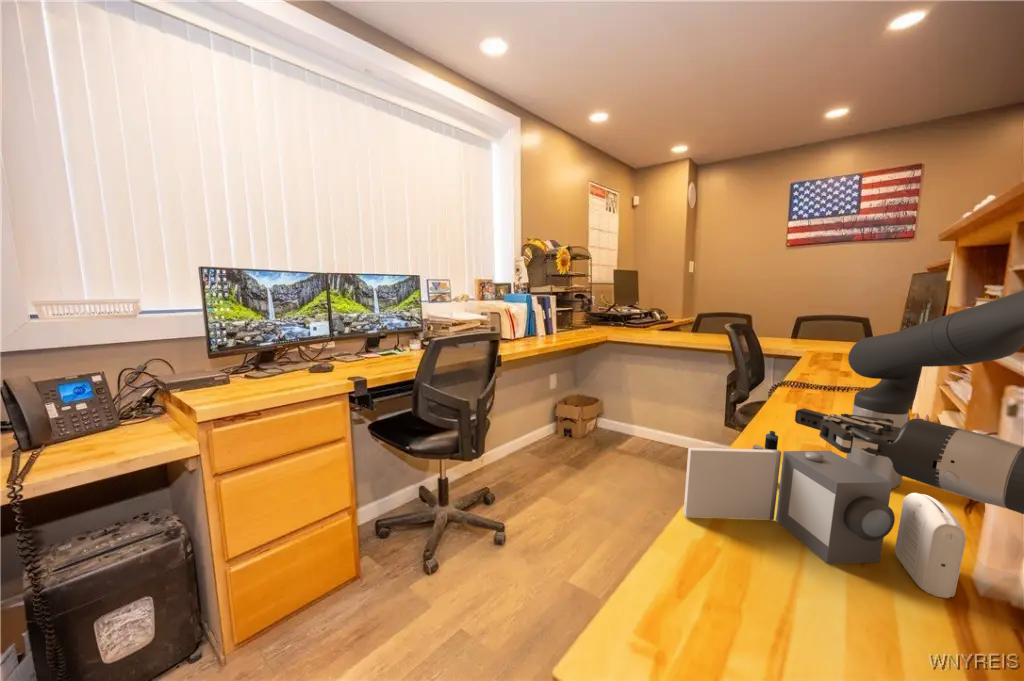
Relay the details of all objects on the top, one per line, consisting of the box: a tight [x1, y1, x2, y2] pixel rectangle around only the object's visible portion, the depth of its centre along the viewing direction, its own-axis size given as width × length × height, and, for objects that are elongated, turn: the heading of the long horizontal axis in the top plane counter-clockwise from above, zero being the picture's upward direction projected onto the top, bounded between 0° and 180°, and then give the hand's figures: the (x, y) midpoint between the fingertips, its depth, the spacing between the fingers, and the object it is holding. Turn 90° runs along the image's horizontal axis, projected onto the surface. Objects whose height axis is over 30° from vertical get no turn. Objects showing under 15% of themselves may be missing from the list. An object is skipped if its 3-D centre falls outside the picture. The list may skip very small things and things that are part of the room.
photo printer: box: [894, 492, 967, 599], centre depth 62 cm, size 10×4×12 cm, turn 156°
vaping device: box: [752, 430, 779, 450], centre depth 92 cm, size 3×5×12 cm, turn 78°
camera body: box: [775, 450, 896, 564], centre depth 70 cm, size 9×14×15 cm, turn 2°
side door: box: [683, 447, 782, 521], centre depth 77 cm, size 2×17×14 cm, turn 87°
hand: (798, 415), depth 63 cm, fingers closed
